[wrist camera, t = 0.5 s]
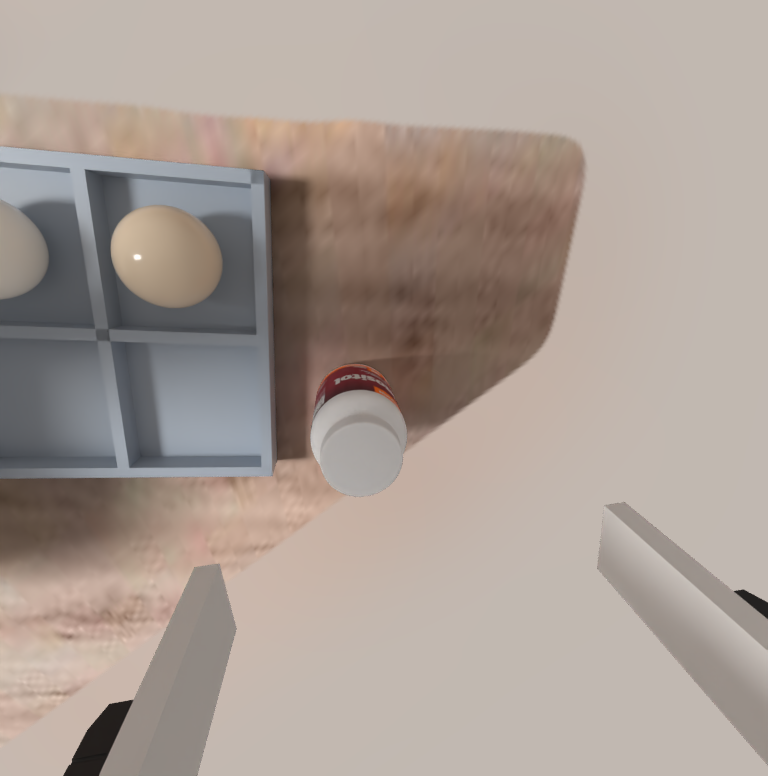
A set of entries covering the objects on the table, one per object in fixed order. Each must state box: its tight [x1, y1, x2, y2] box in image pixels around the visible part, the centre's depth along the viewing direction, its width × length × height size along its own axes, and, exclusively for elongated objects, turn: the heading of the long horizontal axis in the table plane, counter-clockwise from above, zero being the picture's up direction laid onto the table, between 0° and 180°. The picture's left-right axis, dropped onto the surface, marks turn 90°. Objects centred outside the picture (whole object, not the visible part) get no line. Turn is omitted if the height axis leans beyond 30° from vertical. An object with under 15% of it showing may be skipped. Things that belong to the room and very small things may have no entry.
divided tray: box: [0, 146, 277, 479], centre depth 27 cm, size 21×21×3 cm
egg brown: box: [111, 205, 223, 308], centre depth 24 cm, size 6×6×6 cm
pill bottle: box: [310, 364, 407, 497], centre depth 27 cm, size 6×6×11 cm
